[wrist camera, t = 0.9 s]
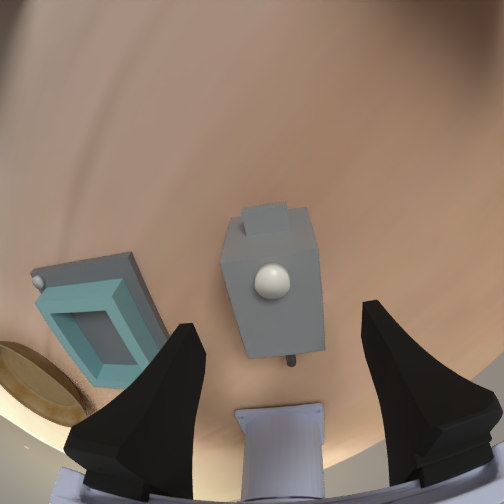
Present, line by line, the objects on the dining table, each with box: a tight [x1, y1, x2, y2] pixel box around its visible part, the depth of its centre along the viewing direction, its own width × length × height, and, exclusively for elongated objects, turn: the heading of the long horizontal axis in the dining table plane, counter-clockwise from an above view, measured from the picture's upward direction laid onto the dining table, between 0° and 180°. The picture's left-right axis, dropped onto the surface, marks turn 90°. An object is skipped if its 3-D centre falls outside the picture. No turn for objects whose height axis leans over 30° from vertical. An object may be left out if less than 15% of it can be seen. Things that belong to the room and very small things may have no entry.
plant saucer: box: [0, 341, 87, 428], centre depth 26 cm, size 15×15×3 cm
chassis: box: [30, 252, 170, 389], centre depth 20 cm, size 12×9×2 cm
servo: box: [220, 201, 325, 367], centre depth 16 cm, size 11×4×5 cm, turn 11°
